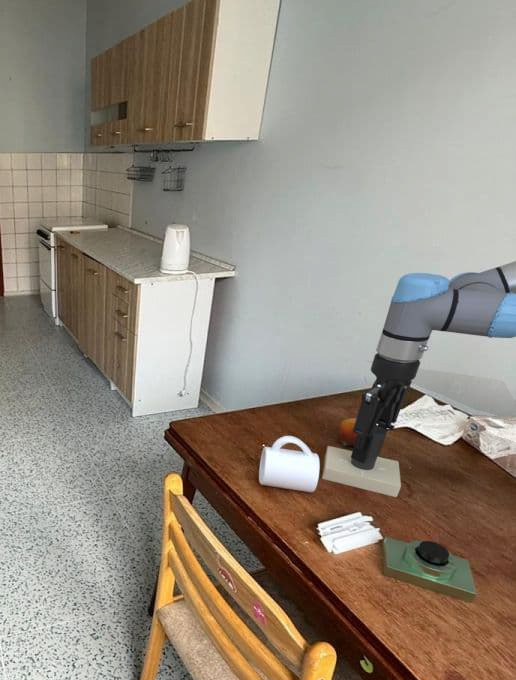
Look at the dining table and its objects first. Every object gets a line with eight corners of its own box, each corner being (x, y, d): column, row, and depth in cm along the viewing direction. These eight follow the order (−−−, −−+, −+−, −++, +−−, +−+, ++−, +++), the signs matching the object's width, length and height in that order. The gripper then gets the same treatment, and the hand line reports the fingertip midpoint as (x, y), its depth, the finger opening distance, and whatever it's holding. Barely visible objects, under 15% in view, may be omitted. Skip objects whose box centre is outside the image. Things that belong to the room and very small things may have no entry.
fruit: (333, 445, 113) (343, 413, 113) (334, 446, 120) (343, 416, 119) (372, 455, 109) (383, 422, 109) (370, 456, 116) (380, 425, 115)
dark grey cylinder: (358, 456, 106) (369, 420, 101) (378, 466, 102) (391, 429, 98) (346, 462, 104) (357, 426, 100) (366, 472, 101) (378, 435, 96)
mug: (312, 500, 98) (326, 452, 92) (259, 492, 100) (270, 444, 95) (307, 477, 104) (320, 431, 99) (258, 470, 107) (267, 424, 102)
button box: (463, 569, 81) (472, 552, 79) (471, 603, 75) (481, 586, 73) (382, 545, 86) (388, 528, 84) (383, 575, 80) (390, 558, 78)
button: (443, 553, 79) (447, 545, 78) (447, 569, 76) (451, 561, 75) (415, 545, 81) (418, 537, 80) (417, 560, 78) (421, 553, 77)
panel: (394, 472, 105) (398, 460, 104) (396, 497, 98) (401, 485, 96) (324, 456, 112) (328, 445, 110) (321, 478, 104) (325, 467, 102)
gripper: (392, 372, 85) (357, 478, 96) (442, 353, 92) (405, 452, 103) (352, 359, 90) (323, 460, 101) (402, 341, 98) (370, 437, 109)
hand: (364, 456), depth 102 cm, fingers closed on dark grey cylinder, 4 cm apart
